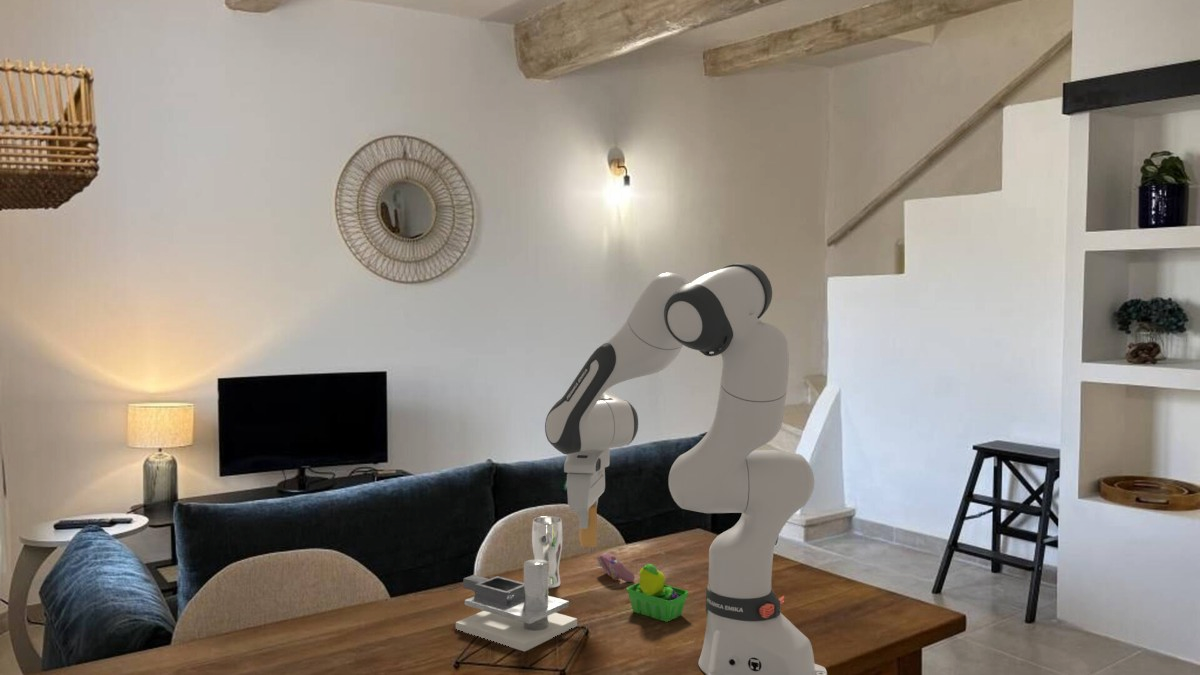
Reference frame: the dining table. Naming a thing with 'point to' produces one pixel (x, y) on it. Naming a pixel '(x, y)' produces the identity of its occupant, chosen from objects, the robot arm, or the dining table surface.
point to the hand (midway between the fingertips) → (587, 523)
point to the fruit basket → (656, 595)
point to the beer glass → (548, 545)
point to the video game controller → (615, 567)
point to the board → (514, 629)
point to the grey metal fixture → (517, 596)
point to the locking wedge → (589, 529)
